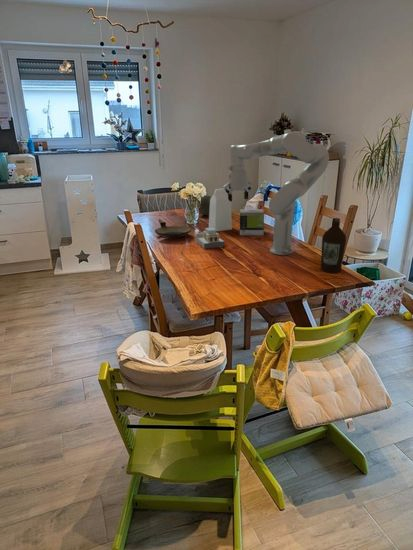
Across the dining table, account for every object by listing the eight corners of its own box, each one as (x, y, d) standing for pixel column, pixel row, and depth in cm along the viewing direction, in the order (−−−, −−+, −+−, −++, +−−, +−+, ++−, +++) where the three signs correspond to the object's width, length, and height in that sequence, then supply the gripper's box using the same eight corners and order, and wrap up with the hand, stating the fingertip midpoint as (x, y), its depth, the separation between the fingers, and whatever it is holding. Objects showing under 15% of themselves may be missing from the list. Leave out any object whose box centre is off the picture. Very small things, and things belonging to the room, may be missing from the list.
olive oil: (322, 264, 195) (327, 215, 186) (344, 268, 190) (350, 217, 181) (316, 271, 186) (322, 220, 177) (339, 275, 182) (346, 222, 172)
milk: (224, 225, 269) (225, 186, 259) (231, 229, 259) (232, 189, 249) (208, 227, 265) (208, 188, 255) (215, 231, 255) (215, 191, 245)
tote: (216, 233, 224) (216, 229, 223) (208, 234, 222) (208, 230, 222) (212, 231, 229) (212, 227, 228) (205, 231, 228) (205, 228, 227)
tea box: (263, 231, 253) (264, 208, 247) (263, 235, 244) (264, 212, 238) (239, 231, 254) (240, 208, 249) (239, 235, 245) (239, 212, 240)
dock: (224, 246, 224) (224, 238, 222) (204, 248, 221) (204, 240, 219) (215, 239, 237) (215, 231, 235) (196, 241, 233) (196, 233, 231)
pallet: (219, 241, 223) (219, 234, 222) (208, 242, 222) (208, 235, 220) (213, 236, 232) (213, 230, 231) (202, 237, 230) (202, 231, 229)
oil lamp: (157, 244, 231) (156, 231, 228) (153, 230, 258) (152, 219, 255) (194, 241, 235) (194, 228, 232) (186, 228, 262) (186, 217, 259)
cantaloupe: (207, 212, 305) (207, 193, 300) (219, 215, 295) (219, 195, 289) (192, 215, 297) (192, 195, 291) (204, 218, 287) (204, 198, 281)
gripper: (225, 170, 207) (226, 202, 213) (255, 167, 212) (255, 199, 218) (220, 169, 214) (221, 200, 220) (248, 166, 219) (249, 197, 225)
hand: (238, 200), depth 219 cm, fingers open, 9 cm apart
